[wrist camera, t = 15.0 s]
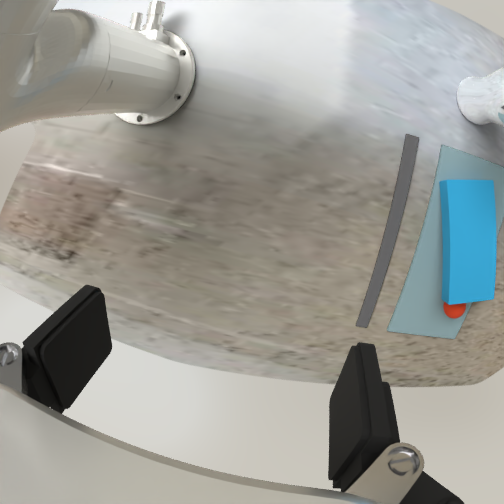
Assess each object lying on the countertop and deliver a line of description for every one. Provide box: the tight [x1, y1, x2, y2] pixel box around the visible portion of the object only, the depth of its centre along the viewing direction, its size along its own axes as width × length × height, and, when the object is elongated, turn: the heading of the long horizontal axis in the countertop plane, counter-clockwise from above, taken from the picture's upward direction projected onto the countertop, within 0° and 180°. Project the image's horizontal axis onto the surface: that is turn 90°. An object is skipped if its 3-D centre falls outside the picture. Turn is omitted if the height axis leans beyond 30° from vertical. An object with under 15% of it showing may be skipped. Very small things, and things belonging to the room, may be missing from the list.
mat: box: [387, 145, 504, 339], centre depth 36 cm, size 26×12×1 cm, turn 173°
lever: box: [439, 180, 496, 319], centre depth 34 cm, size 7×7×18 cm
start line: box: [356, 134, 419, 328], centre depth 37 cm, size 26×2×1 cm, turn 173°
